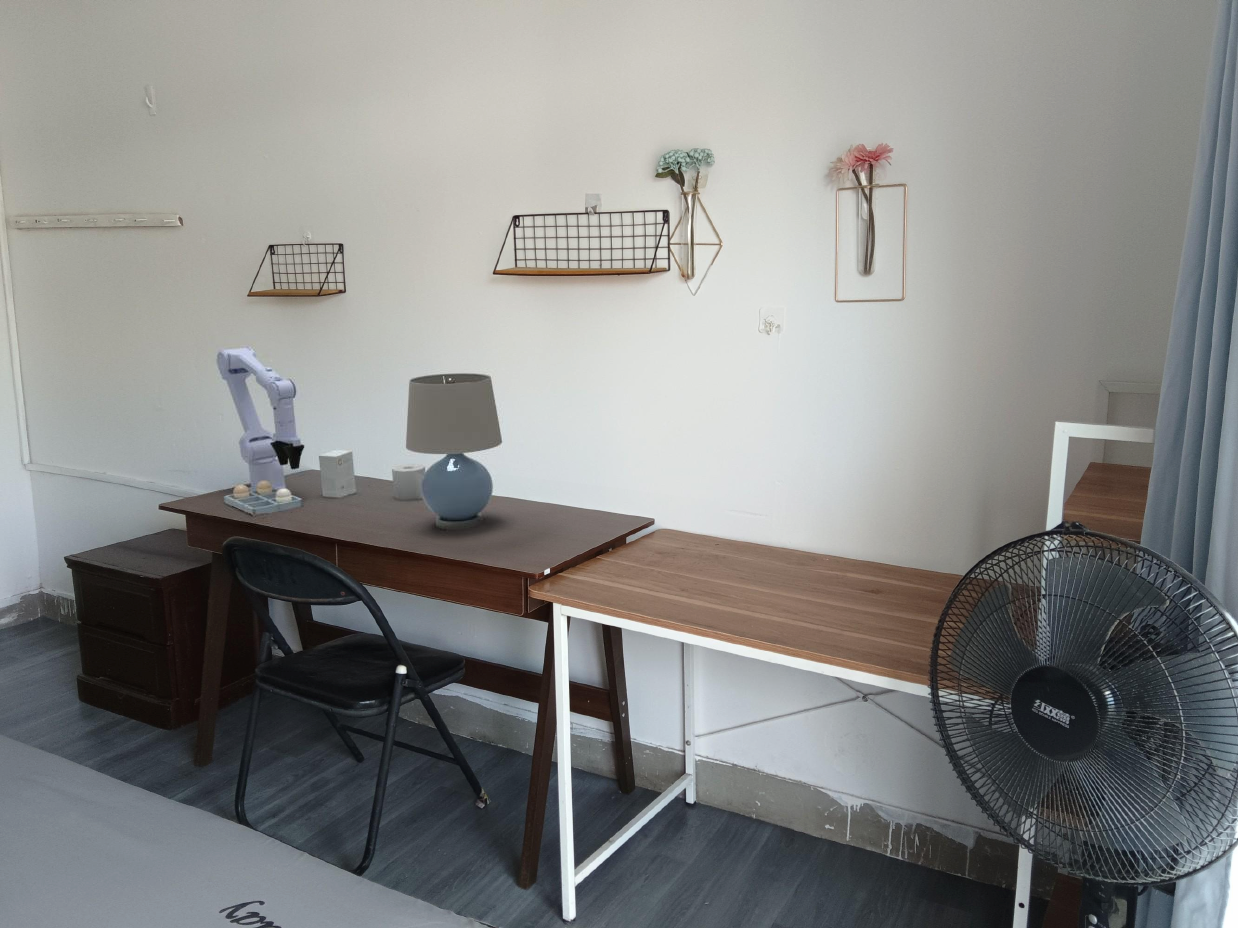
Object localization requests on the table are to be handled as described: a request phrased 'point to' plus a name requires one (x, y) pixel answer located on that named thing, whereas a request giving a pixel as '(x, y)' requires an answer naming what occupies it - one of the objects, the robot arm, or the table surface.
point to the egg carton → (262, 502)
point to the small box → (337, 473)
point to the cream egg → (283, 495)
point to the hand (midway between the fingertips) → (289, 466)
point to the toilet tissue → (408, 481)
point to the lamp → (454, 443)
